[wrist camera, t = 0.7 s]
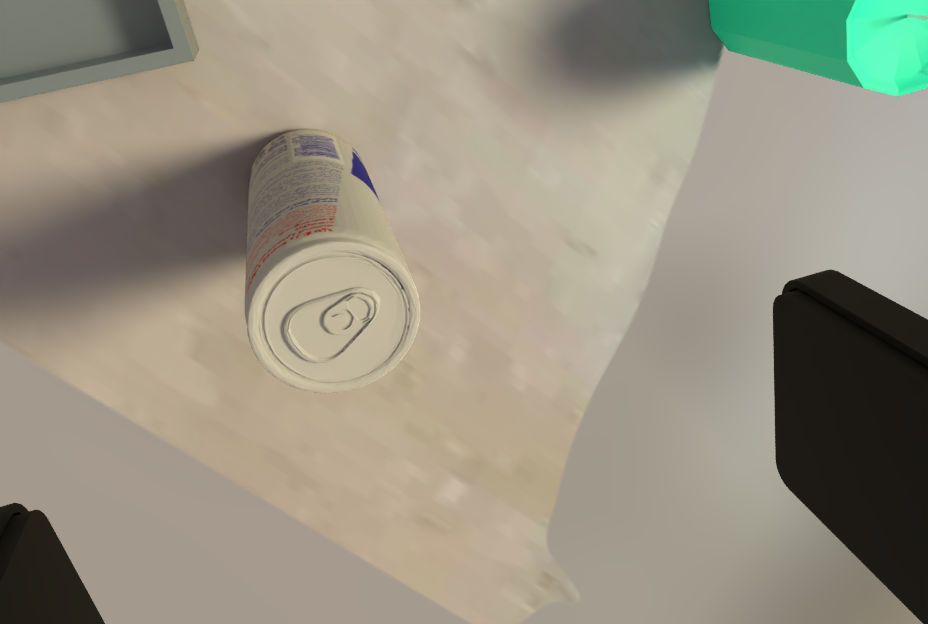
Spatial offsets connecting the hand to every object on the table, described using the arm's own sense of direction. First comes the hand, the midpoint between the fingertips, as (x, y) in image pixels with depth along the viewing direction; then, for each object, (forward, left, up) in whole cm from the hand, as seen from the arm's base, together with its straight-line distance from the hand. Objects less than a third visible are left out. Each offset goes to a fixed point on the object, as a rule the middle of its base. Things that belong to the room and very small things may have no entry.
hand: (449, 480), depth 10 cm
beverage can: (+5, -1, -30) cm, 30 cm away
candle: (+1, +23, -30) cm, 37 cm away
